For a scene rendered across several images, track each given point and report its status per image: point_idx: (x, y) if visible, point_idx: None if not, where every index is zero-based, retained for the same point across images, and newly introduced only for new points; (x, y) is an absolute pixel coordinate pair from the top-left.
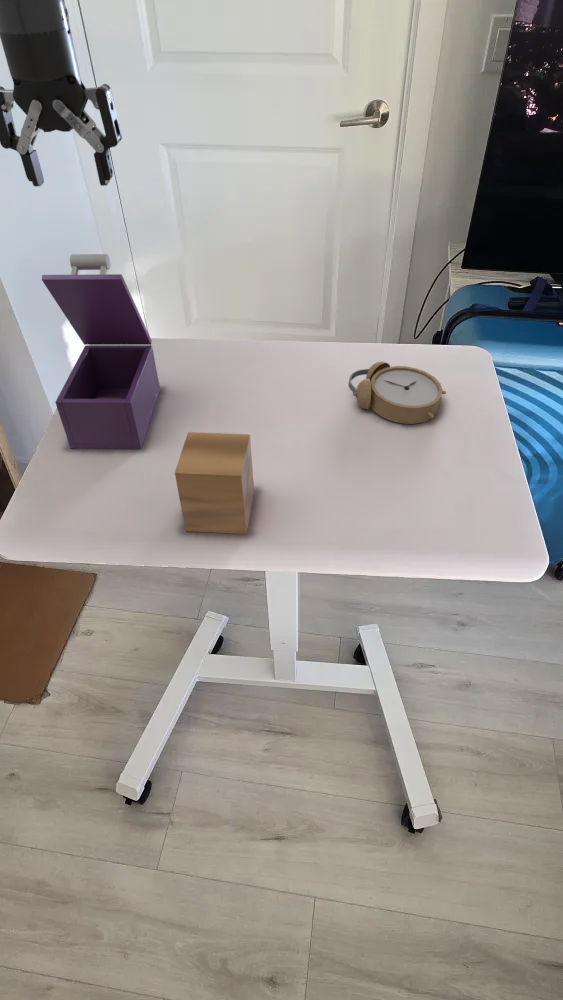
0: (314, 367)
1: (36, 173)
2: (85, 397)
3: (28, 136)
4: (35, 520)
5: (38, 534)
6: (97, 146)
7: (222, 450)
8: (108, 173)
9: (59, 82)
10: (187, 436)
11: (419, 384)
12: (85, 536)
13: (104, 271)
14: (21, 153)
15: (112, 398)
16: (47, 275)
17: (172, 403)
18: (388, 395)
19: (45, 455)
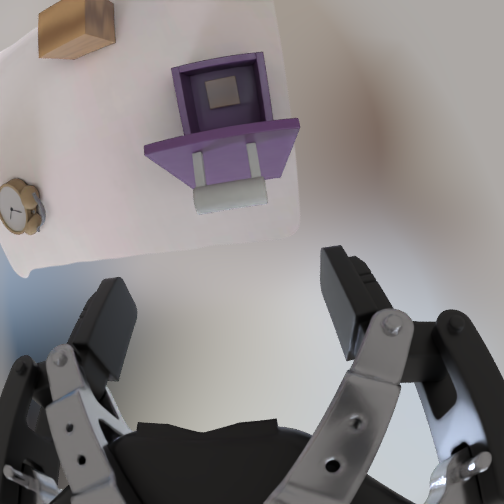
0: (85, 235)
1: (332, 276)
2: (261, 114)
3: (359, 377)
4: None
5: None
6: (57, 359)
7: (53, 28)
8: (87, 304)
9: None
10: (84, 27)
11: (9, 216)
12: None
13: (195, 176)
14: (390, 309)
15: (220, 104)
16: (289, 127)
17: None
18: (15, 196)
19: (278, 48)
